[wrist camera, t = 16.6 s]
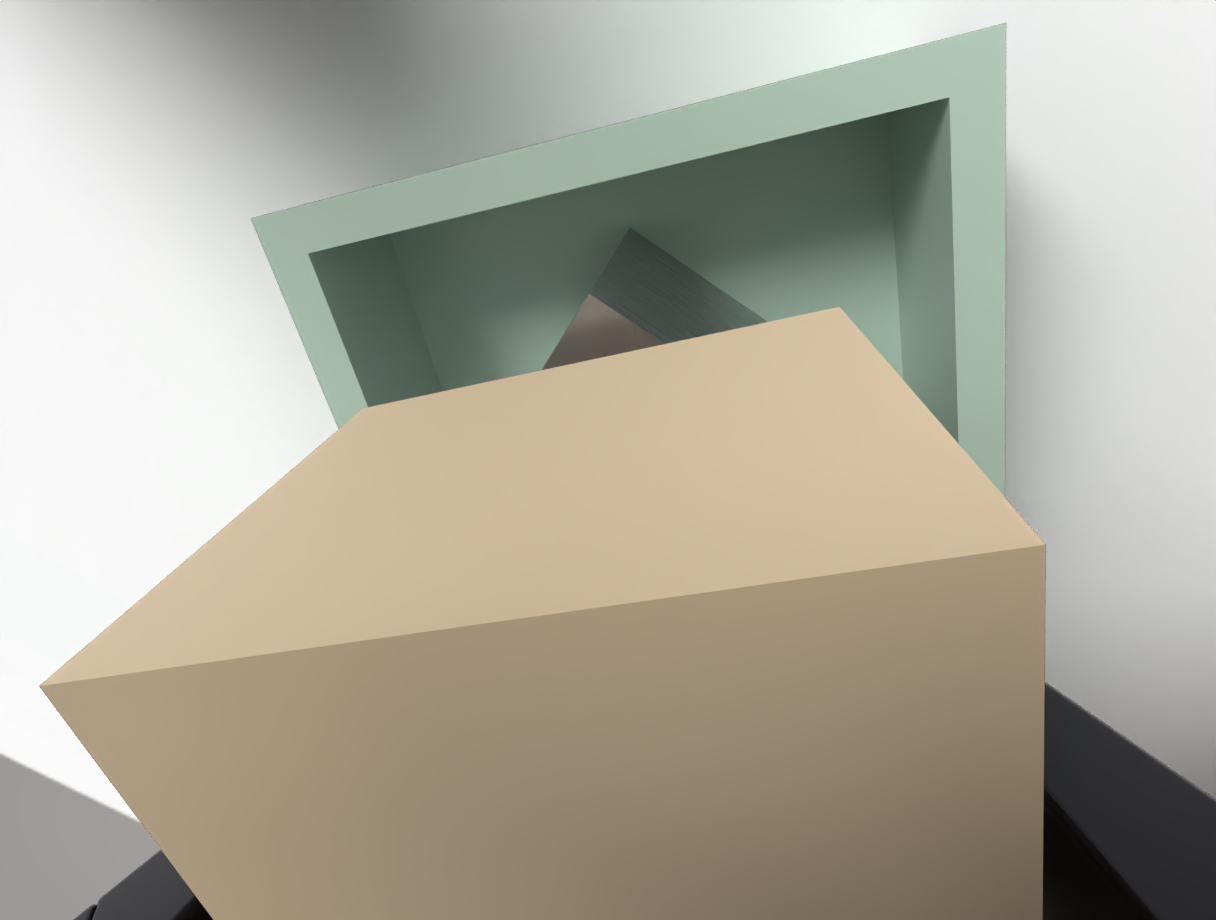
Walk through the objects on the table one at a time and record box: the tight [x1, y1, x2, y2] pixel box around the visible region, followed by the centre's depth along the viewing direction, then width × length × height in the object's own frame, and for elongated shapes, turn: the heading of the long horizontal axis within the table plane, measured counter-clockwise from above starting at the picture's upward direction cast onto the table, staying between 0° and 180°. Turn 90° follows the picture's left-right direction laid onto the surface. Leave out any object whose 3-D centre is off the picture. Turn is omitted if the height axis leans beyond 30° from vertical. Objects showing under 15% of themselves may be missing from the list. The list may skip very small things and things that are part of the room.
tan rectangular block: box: [39, 307, 1046, 920], centre depth 8 cm, size 8×6×5 cm
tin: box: [542, 228, 768, 370], centre depth 14 cm, size 6×6×7 cm
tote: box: [251, 23, 1006, 497], centre depth 16 cm, size 13×13×4 cm
